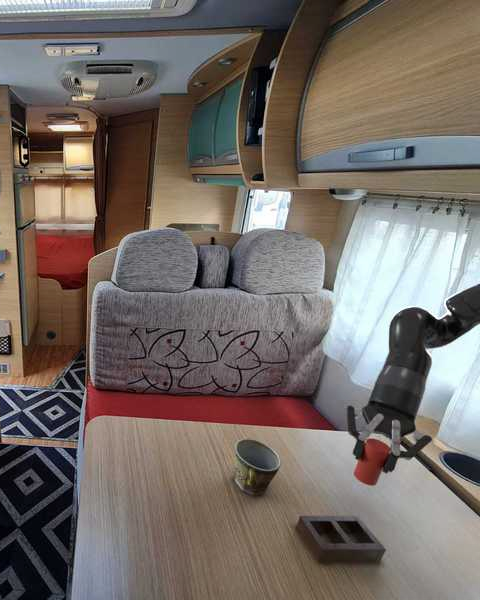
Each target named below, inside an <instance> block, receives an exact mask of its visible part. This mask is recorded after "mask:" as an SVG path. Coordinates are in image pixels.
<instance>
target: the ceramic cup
mask: <svg viewBox="0 0 480 600" xmlns="http://www.w3.org/2000/svg"><path fill="white" fill-rule="evenodd" d="M234 463H235V464H234V465H235V468H234V469H235V470H234V474H235V477H234V481H235V482H236V484H237V485H238V487H239V488H240V490H241V491H243V492H245V493H248V495H251V496H259V495H263V494H264V493H265V492H266V490H267V489H268V486H270V484H271V482H272V480H274V478H275V476H276V475H277V473H278V472H279V470H280V468H281V466H282V459H281V457H280V455H279V453H277V451H276V450H275V449H273V448H272V447H271V446H270V445H269V444H267V443H264V442H262V441H260V440H258V439H254V438H253V439H252V438H242V439H239V440H238V441H237V442H236V443H235V446H234Z"/></svg>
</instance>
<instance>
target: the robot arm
mask: <svg viewBox="0 0 480 600" xmlns="http://www.w3.org/2000/svg"><path fill="white" fill-rule="evenodd" d="M444 307H445V309H446V310H447V312H446V313H445V314H444V315H443V316H441V317H439V318H438V317H437V316H436V315H434V314H433V313H431V312H430V311H428V310H427V309H425V308H423V307H419V306H413V305H412V306H407V307H404V308H401V309H400V310H399V311H397V312H396V313H395V314H394V315H393V316H392V318H391V319H390V322H389V325H388V326H389V327H388V353H387V356H386V359H385V361H384V364H383V367H382V369H381V370H380V372H379V373H378V375H377V378H376V380H375V381H374V386H373V389H372V391H371V394H370V396H369V399H368V401H367V404H366V405H365V406H363V407H362V408H360V407H354V406H353V405H347V406H346V420H347V421H346V422H347V432H348V435H349V436H350V437H353V438H354V439H355V444H354V447H353V450H352V455H353V456H355V457H354V459H355V460H356V461H357V462H358V461H359V460H360V457H361V455H362V452H363V449H364V446H365V443H366V440H367V439H369V437H370V436H372V434H373V433H374V434H378V435H382V436H383V437H385V438H387V439H389V447H390V449H391V451H390V453H389V456H388V458H387V460H386V462H385V465H384V467H383V470H382V472H381V473H384V474H386V475H387V474H389V473H392V472H394V471H395V468H396V466H397V463H398V459H403V460H405V461H406V460H407V461H410V460H412V459H413V458H414V457H415V456H416V455H418V453H420V452H421V451H422V450H423V449H424V448H426V446H428V444H430V443H431V442H433V441H432V440H433V438H432V437H431V436H430V435H428V434H424V433H422V432H421V431H420V430H418V429H417V425H416V423H415V422H416V419H417V415H418V412H419V409H420V406H421V405H422V404H421V403H422V400H423V398H424V395H425V392H426V385H427V380H428V377H429V375H430V372H431V370H432V369H431V368H432V365H433V358H432V355H431V354H430V353H429V352H428V350H431V349H432V350H433V349H440V348H443V347H446V346H448V345H450V344H452V343H453V342H455V341H456V340H458V339H459V338H462V336H464V335H466V334H468V333H469V332H470V331H472V330H473V329H475V328H476V327H477V326H479V325H480V283H477V284H475V285H473V286H471V287H469V288H466V289H464V290H461V291H459V292H457V293H455V294H453V295H451V296H448V298H446V299H445V300H444ZM360 415H362V417H363V419H364V421H365V423H366V427H365V428H364V429H363V430H362V432H361V433H360V431H358V430H357V423H356V419H358V418H359V417H360ZM411 434H412V435H413V437H412V441H413V442H414V444H412V446H411V447H410V448H408V449H407V450H401V441H402V440H401V438H403V437H406V436H409V435H411Z"/></svg>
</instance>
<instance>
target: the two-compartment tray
mask: <svg viewBox="0 0 480 600" xmlns="http://www.w3.org/2000/svg"><path fill="white" fill-rule="evenodd" d="M295 529H296V530H297V532H298V534H299V535H300V537H301V538H302V540H303V542H304V543H305V545H306V547H307V548H308V550H309V551H310V552H311V554H312V556H313V557H314V559H315V560H316V562H317V563H381V561H382V559H383V557H384V555H385V553H386V551H387V549H386V548H385V545H383V544H382V542H380V540H379V539H378V538H377V536H375V534H374V533H373V532H372V531H371V530H370V528H369V527H368V526H367V525H366V524H365V522H364V521H363V520H362V519H361V518H360V517H359V516H358V515H299V517H298V521H297V524H296V526H295ZM319 534H325V535H326V536H327V538H328V539H329V540H330V542H331V543H325V542H324V540H323V539H322V538H321V537H320V535H319ZM347 534H352V536H353V537H354V539H355V540H356V541H357V543H354V542H352V541H351V539H350V538H349V537H348V535H347Z"/></svg>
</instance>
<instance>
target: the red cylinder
mask: <svg viewBox="0 0 480 600" xmlns="http://www.w3.org/2000/svg"><path fill="white" fill-rule="evenodd" d="M390 451H391V449H390V445H388V444H387V443H385V442H384V441H381V440H380V439H377V438H373V437H371V438H369V437H368V439H367V440H366V441H365V446H364V449H363V452H362V455H361V457H360V460H359V461H358V460H357V463H356V467H355V468H354V470H353V476H354V477H355V478H356V479H357V480H358V481H359V482H361V483H362V484H364V485H367V486H372V487H373V486H376V485H377V484H378V481H379V480H380V476H381V474H382V473H383V472H382V470H383V467H384V465H385V462H386V460H387V458H388V456H389V453H390Z"/></svg>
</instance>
